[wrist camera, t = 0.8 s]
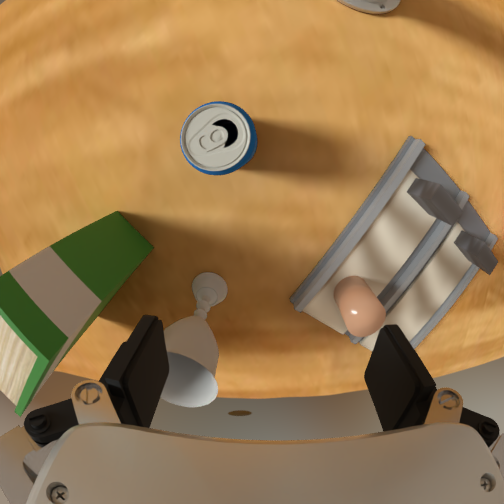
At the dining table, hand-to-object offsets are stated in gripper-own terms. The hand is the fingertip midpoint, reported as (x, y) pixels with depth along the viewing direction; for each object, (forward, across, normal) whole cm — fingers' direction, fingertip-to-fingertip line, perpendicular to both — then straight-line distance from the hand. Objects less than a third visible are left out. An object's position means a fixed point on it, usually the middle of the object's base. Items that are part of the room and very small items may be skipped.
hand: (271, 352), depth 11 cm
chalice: (+26, +7, +11) cm, 29 cm away
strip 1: (+25, -16, +4) cm, 29 cm away
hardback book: (+26, +23, +9) cm, 36 cm away
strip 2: (+25, -26, +11) cm, 37 cm away
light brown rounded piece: (+24, -12, +10) cm, 29 cm away
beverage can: (+26, +4, -9) cm, 28 cm away
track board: (+26, -22, +6) cm, 34 cm away
